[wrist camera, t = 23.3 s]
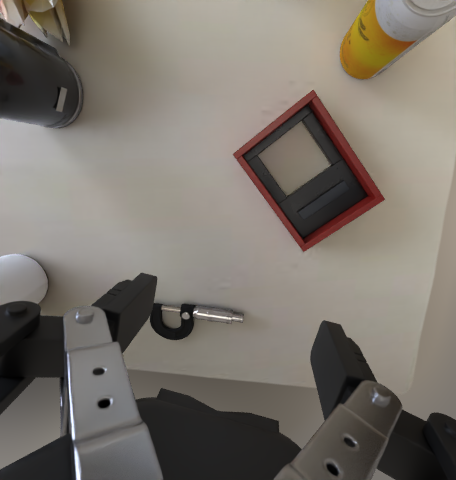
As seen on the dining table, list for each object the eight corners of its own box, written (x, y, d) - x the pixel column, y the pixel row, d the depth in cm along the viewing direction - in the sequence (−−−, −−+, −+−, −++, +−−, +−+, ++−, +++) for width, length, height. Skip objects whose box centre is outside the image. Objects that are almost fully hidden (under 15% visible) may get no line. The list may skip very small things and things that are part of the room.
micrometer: (151, 334, 48) (145, 344, 45) (152, 296, 46) (145, 304, 43) (240, 347, 46) (238, 357, 44) (244, 308, 44) (243, 317, 42)
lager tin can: (369, 10, 32) (453, -112, 18) (403, 50, 33) (510, -36, 19) (327, 54, 34) (374, -25, 20) (360, 92, 35) (429, 42, 20)
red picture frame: (235, 154, 38) (232, 154, 35) (308, 96, 36) (313, 89, 32) (300, 244, 41) (303, 252, 37) (374, 196, 38) (385, 199, 34)
